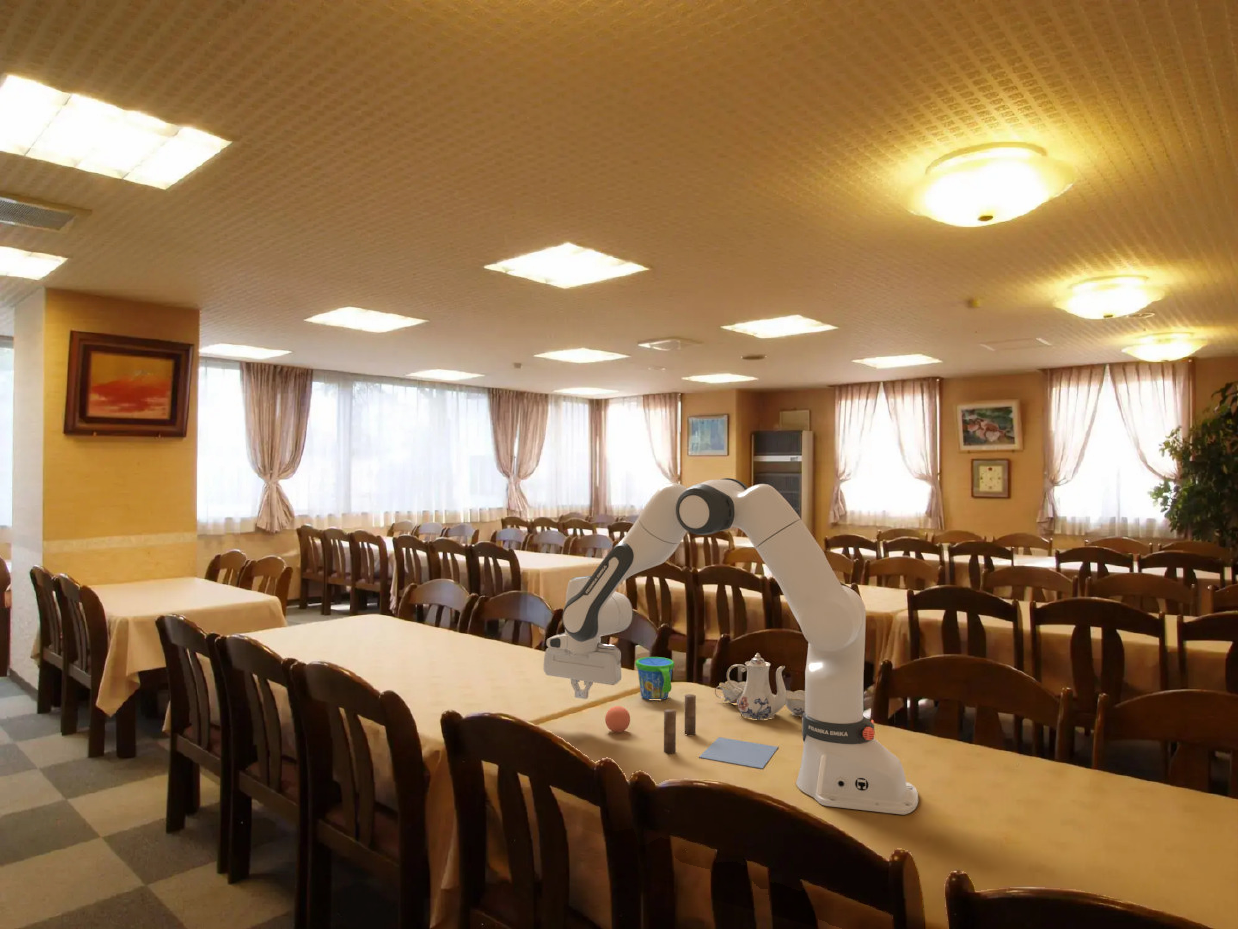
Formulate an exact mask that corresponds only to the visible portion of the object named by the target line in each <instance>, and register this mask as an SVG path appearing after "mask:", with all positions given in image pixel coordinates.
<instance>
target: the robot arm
mask: <svg viewBox="0 0 1238 929" xmlns="http://www.w3.org/2000/svg"><path fill="white" fill-rule="evenodd" d="M733 527H734V528H737V529H739V530H741V531H742V532H743V533H744V534H745V535H746V537H747V538H748V540H749V541H750V543H751V544H752V546H753V547H754V549H755V551H757V553H758V555H759V557H760V558H761V559H762V561H763V562H764V564H765V565H766V567H767V569H768V570H769V572H770V573H771V575H772V576H773V577H774V580H775V581H776V583H777V584H778V586H779V587H780V590H781V593H782V594H783V596H784V599H785V600H786V603H787V605H788V607H789V609H790V610H791V612H792V615H793V616H794V618H795V620H796V622H797V624H798V625H799V627H800V630H801V632H802V635H803V636H804V638H805V640H806V641H807V642H808V644H807V646H808V647H807V656H806V663H805V664H806V665H805V671H804V675H805V676H804V678H805V680H804V691H805V712H804V713H803V716H801V734H802V741H803V749H802V756H801V762H800V767H799V771H798V776H797V779H796V782H795V784H796V785H797V787H798V789H799V790H800V791H802V792H803V793H805V794H806V795H808V796H810V797H812V798H813V799H815V801H817V802H818V803H819V804H820V805H821V806H822V805H823V806H826V807H833V808H834V807H835V808H842V809H851V810H859V811H860V810H861V811H869V812H877V813H883V814H894V815H895V814H896V815H908V814H910V813H912V812H913V811H915V810H916V808H917V807H918V804H919V793H918V792H919V791H918V790H917V788H916V787H915V786H914V785H913V784H912V783H911V782H907V780H906V775H905V770H904V768H903V765H902V763H901V760H900V759H899V758H898V756H896V755H895V754H893V753H892V752H891V751H890V750H889V749H888V748H886V747H885V746H884V745H882V743H880V742H879V741H878V740H877V739H876V738H875V724H874V723H875V722H874V720H873V719H871V721H870V720H869V719H868V718H867V717H866V716H864V673H865V672H864V670H865V653H866V652H865V649H866V648H865V647H866V620H867V619H866V618H867V617H866V616H867V612H866V611H867V610H866V606H865V603H864V601H863V599H862V597H861V596H860V595H859V594H858V593H857V592H856V591H855V590H853V589H852V588H850V587H848V586H846V585H842V584H841V582H840V580H839V578H838V577H837V575H836V573H835V572H834V570H833V568H832V566H831V564H830V563H829V560H828V559H827V557H826V555H825V552H824V550H823V549H822V548H821V546H820V545H819V543H818V542H817V541H816V539H815V537H814V536H813V534H812V533H811V531H810V530H809V529H808V527H807V526H806V525H805V523H804V521H803V520H802V519H801V517H800V516H799V514H798V513H797V511H795V509H794V508H793V507H792V506H791V504H790V503H789V502H788V501H787V499H786V498H785V497H783V495H782V494H781V493H780V492H779V491H778V490H777V489H775V488H774V487H773V486H772V485H770V484H766V483H759V484H758V483H757V484H755V485H752V486H749V487H748V486H747V485H746V484H745V483H744V482H743V481H741V480H738V479H735V478H729V477H725V478H720V479H709V480H705V481H702V482H700V483H696V484H693V485H691V486H689V487H687V486H685V485H683V484H680V483H678V482H677V483H675V482H667V483H665V484H663V485H662V486H660V487H659V488H658V489H657V491H655V493H654V494H653V495H652V497H651V498H650V499H649V501H647V503H646V504H645V506H644V507H643V509H642V510H641V512H640V514H639V515H638V516H637V518H636V520H635V521H634V523H633V525H632V526H631V527H630V529H629V530H628V532H626V534H625V535H624V537H623V538H621V540H620V541H619V542H618V543H617V544H616V545H615V546H614V547H613V548H612V549H611V550H610V551H609V552H608V553H607V554H606V556H605V557H604V558H603V560H602V561H601V562H600V564H599V565H598V566H597V568H596V569H595V570H594V572H593V573H592V575H585V576H584V575H583V576H576V577H573V578H571V579H570V580H569V581H568V583H567V588H566V593H565V605H564V607H563V611H562V616H561V620H562V625H563V628H564V632H562V633H559V634H556V635H553V636H551V637H549V638H547V639H546V646H547V648H546V649H545V651H544V656H543V672H544V674H545V675H546V676H550V677H557V678H562V679H569V680H570V684H571V687H572V689H573V690H574V698H575V699H583V700H587V699H588V698H589V691H590V689H591V688H592V686H593V684H594V683H595V684H596V683H597V684H601V685H607V686H608V685H609V686H615V685H617V684H619V682H620V681H621V680H622V664H621V662H622V661H621V660H622V652H621V650H620V649H619V648H618V647H617V646H616V645H614V644H606V643H601V640H602V638H601V637H603V636H609V635H613V634H616V633H620V632H623V631H626V630H627V629H628V628H630V626H631V624H632V622H633V619H634V608H633V604H632V602H631V600H630V599H629V598H628V596H626V594H624V593H621V592H618V591H617V589H618V588H619V587H620V585H621V584H622V583H623V582H625V581H626V580H628V578H631V576H634V575H635V574H638V573H641V572H643V571H645V570H649V569H651V568H654V567H656V566H660V565H662V564H664V563H666V561H667V560H668V559H670V558H671V556H672V555H673V554H674V552H676V550H677V549H678V547H679V545H681V544H680V543H681V542H682V540H683V539H684V537H685V535H686V534H687V532H689V533H691V534H693V535H697V536H699V535H700V536H701V535H702V536H705V535H707V536H708V535H713V534H716V533H719V532H723V531H727V530H729V529H731V528H733ZM580 681H583V686H584V689H582V688H581V687H580V684H579V683H580Z"/></svg>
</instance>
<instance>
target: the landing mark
mask: <svg viewBox="0 0 1238 929" xmlns="http://www.w3.org/2000/svg"><path fill="white" fill-rule="evenodd" d="M777 748H778V749H779V746H776V745H769V744H763V743H759V742H758V743H757V742H751V741H745V740H744V741H743V740H739V739H732V738H726V737H719V736H718V737H717V738H716V739H715V740H714V741H713V742H712V743H711V744H710V745H709V746H708V747H707V748H706V749H705V750H704V751H703V752H702V753H701V754H700V755H699V756H698V758H699V759H703V760H704V759H705V760H710V761H714V762H721V763H726V764H731V765H738V766H743V767H748V768H754V769H760V770H763V769H764V768H765V767H766V765H767V764H768V762H769V761H770V760H771V758H772V757H773V755H774V754H775V753H776V751H777V750H778V749H777Z"/></svg>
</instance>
